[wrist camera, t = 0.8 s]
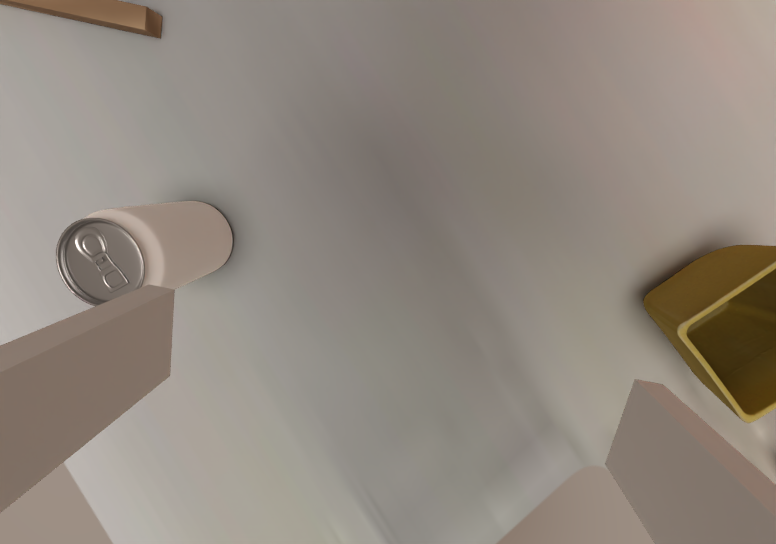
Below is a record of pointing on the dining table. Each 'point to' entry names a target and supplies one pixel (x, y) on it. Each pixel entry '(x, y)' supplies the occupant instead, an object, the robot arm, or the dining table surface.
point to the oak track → (98, 13)
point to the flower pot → (725, 324)
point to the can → (142, 249)
